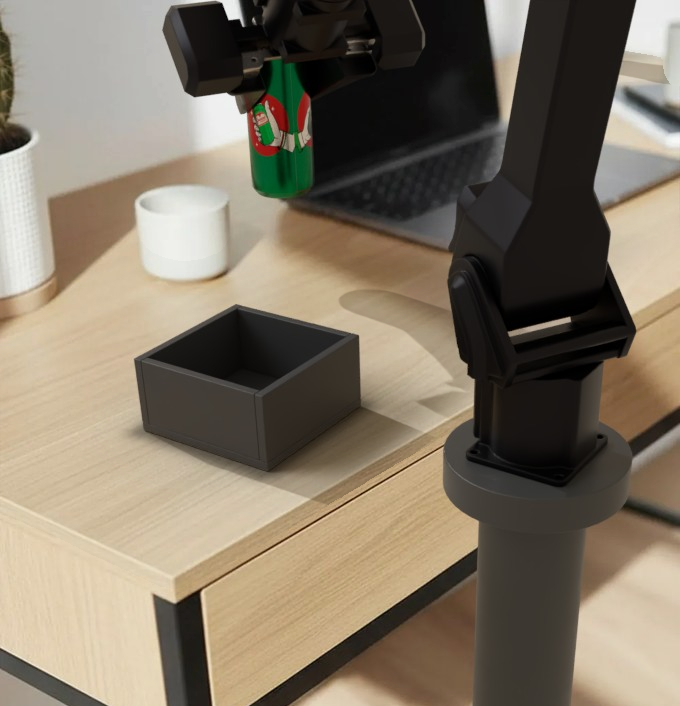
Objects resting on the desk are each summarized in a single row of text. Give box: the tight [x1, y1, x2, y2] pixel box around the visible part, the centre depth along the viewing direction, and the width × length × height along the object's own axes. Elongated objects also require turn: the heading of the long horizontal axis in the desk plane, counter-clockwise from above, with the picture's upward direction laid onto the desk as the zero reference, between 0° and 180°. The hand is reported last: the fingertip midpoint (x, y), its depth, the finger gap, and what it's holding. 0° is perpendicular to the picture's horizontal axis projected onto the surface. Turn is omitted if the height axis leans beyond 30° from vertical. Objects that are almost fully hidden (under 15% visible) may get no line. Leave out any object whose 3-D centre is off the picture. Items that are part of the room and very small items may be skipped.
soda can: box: [246, 59, 316, 200], centre depth 94 cm, size 5×5×12 cm
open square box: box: [133, 303, 362, 472], centre depth 77 cm, size 10×10×5 cm
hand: (271, 104), depth 95 cm, fingers closed on soda can, 5 cm apart
